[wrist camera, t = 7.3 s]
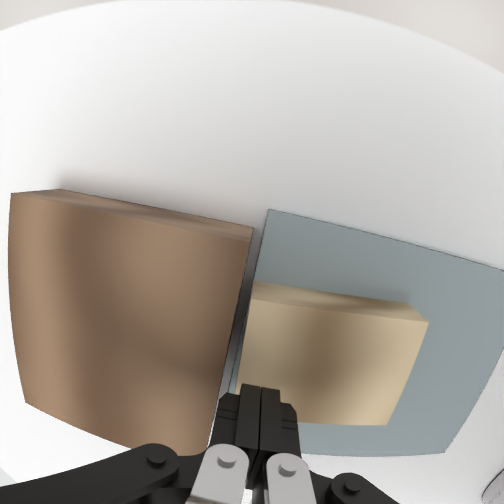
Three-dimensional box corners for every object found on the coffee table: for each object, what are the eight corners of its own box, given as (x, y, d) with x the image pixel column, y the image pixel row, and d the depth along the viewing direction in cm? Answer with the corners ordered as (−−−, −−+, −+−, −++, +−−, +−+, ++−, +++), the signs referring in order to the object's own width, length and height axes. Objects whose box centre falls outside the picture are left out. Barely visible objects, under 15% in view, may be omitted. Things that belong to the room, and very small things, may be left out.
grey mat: (523, 277, 15) (528, 279, 14) (441, 447, 18) (444, 452, 17) (268, 209, 15) (269, 210, 14) (218, 434, 18) (217, 440, 17)
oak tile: (408, 303, 15) (429, 322, 13) (374, 398, 16) (386, 425, 14) (253, 280, 15) (250, 298, 13) (235, 384, 16) (231, 413, 14)
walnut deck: (253, 227, 15) (249, 242, 11) (212, 421, 18) (202, 468, 14) (57, 189, 15) (11, 193, 11) (56, 371, 18) (25, 402, 14)
